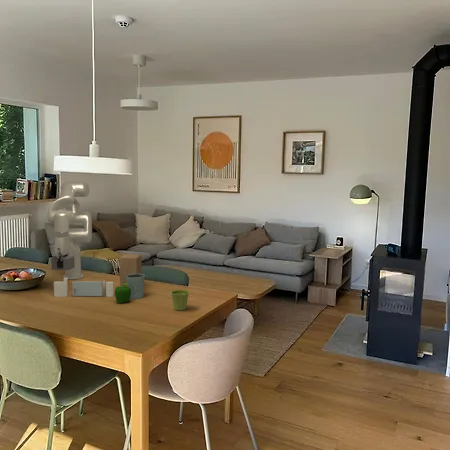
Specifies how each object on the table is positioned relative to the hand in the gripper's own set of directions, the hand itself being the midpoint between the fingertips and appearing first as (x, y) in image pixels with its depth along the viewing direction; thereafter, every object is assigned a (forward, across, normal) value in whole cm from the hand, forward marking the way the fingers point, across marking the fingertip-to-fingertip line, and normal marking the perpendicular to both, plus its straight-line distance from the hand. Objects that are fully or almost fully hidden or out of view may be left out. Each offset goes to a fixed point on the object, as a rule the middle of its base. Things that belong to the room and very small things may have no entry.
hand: (63, 265), depth 249 cm
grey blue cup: (+15, +6, +42) cm, 45 cm away
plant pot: (+15, +25, +69) cm, 75 cm away
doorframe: (+15, +7, +14) cm, 22 cm away
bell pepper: (+15, +16, +37) cm, 43 cm away
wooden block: (+16, -8, +36) cm, 40 cm away
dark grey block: (+2, 0, 0) cm, 2 cm away
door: (+15, +7, +16) cm, 23 cm away
